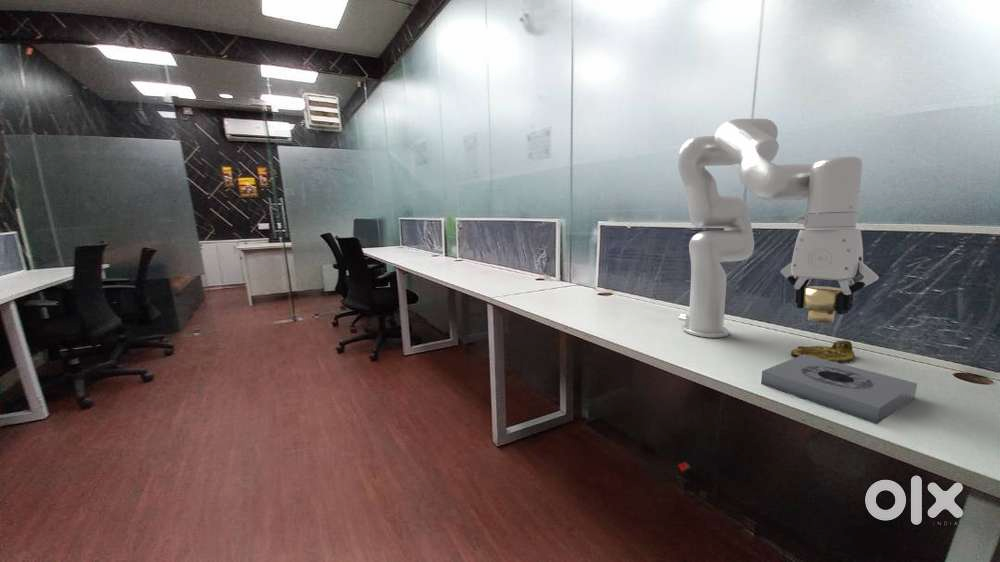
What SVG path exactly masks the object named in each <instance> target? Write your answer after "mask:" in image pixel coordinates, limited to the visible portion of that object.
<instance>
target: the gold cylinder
mask: <svg viewBox="0 0 1000 562" xmlns="http://www.w3.org/2000/svg"><path fill="white" fill-rule="evenodd" d="M840 294H842V289H841V287H833V286H821V285H819V286H817V285H813V286H812V285H809V286H808V285H807V287H804V298H803V307H804V308H806V309H808V311H807V312H808V313H807V314H808V315H807V321H810V322H814V323H818V324H820V323H821V324H832V323H834V321H835V312H837V306H838V297H839V295H840Z"/></svg>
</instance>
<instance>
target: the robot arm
mask: <svg viewBox="0 0 1000 562" xmlns="http://www.w3.org/2000/svg"><path fill="white" fill-rule="evenodd" d="M778 133H779V132H778V126H777V124H776V123H775V122H774V121H773V120H770V119H768V118H736V119H735V118H734V119H731V120H728V121H726V122H724V123H723V124H721V125H720V126H719V127H718V129H717V130H716V131H715V134H714V135H710V136H709V135H708V136H698V137H693V138H690V139H688V140H687V141H685V142H684V143H683V144H682V146H681V147H680V150H679V152H678V157H677V167H678V172H679V175H680V178H681V181H682V183H683V186H684V188H685V196H686V202H687V207H688V208H687V209H688V214H689V215H688V216H689V220H690V223H691V225H692V226H694V227H695V228H698V229H699V228H700V229H718V228H719V230H705V231H701V232H698V233H696V234H694V235H693V236H692V237H691V239H690V240H689V244H688V251H689V252H688V253H689V257H690V259H689V260H690V290H689V291H690V293H689V307H688V314H687V313H680V315H679V316H678V320H679V321H682V322H685V323H684V325H682V331H684V332H685V333H687V334H689V335H692V336H696V337H700V338H701V337H702V338H718V339H719V338H724V337H727V336H728V335H730V330H729V329H728V328H727V327H724V325H725V324H724V323H725V321H724V320H725V308H726V307H725V305H726V294H727V292H726V291H727V274H726V271H725V269H724V268H723V266H722V264H721V263H725V262H729V263H730V262H741V261H745V260H747V259H749V258H750V257H751V256H752V255H753V253H754V249H755V238H754V231H753V227H752V222H751V216H750V211H749V208H748V207H749V206H748V205H747V203H746V202H745V201H744V199H742V198H741V197H738V196H731V195H728V196H727V195H726V196H725V195H724V196H722V195H720V194H719V191H718V185H717V181H716V179H715V178H714V176H713V175H712V173H710V171H708V170H707V169H706V167H710V166H712V167H714V166H732V165H737V164H738V165H739V168H738V174H739V179H740V183H741V184H742V186H743V187H745V188H746V189H747V190H748V191H749V192H750V193H752V194H753V195H754V196H755V197H756V198H757V197H758V198H759V199H762V200H765V201H771V202H772V201H775V202H777V201H805V200H806V201H807V202H806V213H805V215H804V216H803V217H798V219H797V224H798V225H803V228H804V229H800V230H799V232H798V234H797V236H796V241H795V244H794V248H793V253H792V257H791V261H790V263H788V264H786V265H785V266H784V267H782V269H780V273H781V275H782V276H783V277H785V278H786V279H787V281H788V282H789V283H790V284H791V285H792V286H793V289H795V291H796V292H795V303H796V308H797V309H804V308H805V307H803V298H804V287H807V286H808V285H809V284H810V282H811V281H812V279H813V280H814V279H815V280H827V281H837V282H838V284H839V288H841V289H842V294H840V295H839V297H838V306H837V311H836V314H838V315H845V314H849V311H852V309H853V302H854V294H856V293H858V292H859V291H860V290H862V289H864V288H866V287H868V286H869V285H871V284H872V283H874V282H877V281H878V280H879V278H880V276H879V275H878V274H877V273H875V272H874V271H873V270H872V269H871V268H870V267H868V266H867V265H866V264H865V263H864V247H863V237H862V232H861V231H862V230H861V229H860V228H857V220H858V210H859V202H860V201H859V200H860V189H861V181H862V173H863V160H862V159H861V158H860V157H858V156H839V157H830V158H825V159H820V160H818V161H816V162H814V163H811V164H810V163H807V164H806V163H805V164H804V163H803V164H801V163H800V164H796V163H795V164H775V163H773V162H772V161H773V160H774V159H775V158H776V156H777V155H778V152H779V146H780V145H779V142H778V140H777V139H778V135H779V134H778ZM720 228H722V229H723V230H721V229H720ZM861 276H863V278H862V279H861V280H859V281H856V282H855V281H854V279H857V278H860V277H861Z"/></svg>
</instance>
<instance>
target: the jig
mask: <svg viewBox="0 0 1000 562" xmlns="http://www.w3.org/2000/svg"><path fill="white" fill-rule="evenodd" d="M760 384H761V385H762V386H765V385H766V386H765V387H769V388H772V389H774V390H778V391H781V392H783V393H786V394H788V393H789V395H791V394H792V396H794V395H795V397H798V398H800V399H804V400H806V401H809V402H811V401H812V403H814V402H815V403H814V404H817V405H821V406H823V407H826V408H829V409H832V410H834V411H838V412H841V413H843V414H846V415H849V416H852V417H854V418H858V419H860V420H863V421H866V422H869V423H873V424H875V425H879V424H880V423H881V422H882V421H884V420H885V419H887V418H888V417H889V416H891V415H892V414H894V413H895V412H896V411H898V410H900V409H901V408H902V407H904V406H906V405H907V404H908V403H909V402H911V401H912V400H914V399H915V398H916V392H917V386H918V383H917V382H914V381H911V380H906V379H902V378H898V377H894V376H891V375H886V374H882V373H879V372H875V371H871V370H866V369H863V368H859V367H855V366H852V365H851V366H850V365H847V364H845V363H836V362H832V361H829V360H825V359H821V358H817V357H813V356H809V355H805V354H803V355H801V356H798V357H793V358H791V359H789V360H787V361H784V362H782V363H779V364H776V365H774V366H771V367H769V368H766V369H763V370H762V371H761V382H760Z"/></svg>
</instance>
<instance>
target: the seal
mask: <svg viewBox="0 0 1000 562" xmlns="http://www.w3.org/2000/svg"><path fill="white" fill-rule="evenodd" d="M803 354H805V355H809V356H813V357H817V358H821V359H825V360H829V361H832V362H836V363H840V364H844V363H843V362H847V363H851V362H850V361H852V362H854V361H855V360H854V359H855V358H856V357H855V356H856V355H855V352H854V351H853V344H852V342H851V341H850V340H844V339H843V340H835V341H834V343H833V344H832V345H831V346H825V345H824V346H823V345H816V346H815V345H814V346H804V345H803V346H802V345H801V346H797V347H796V348H794V349H793V350H792V351H790V355H791V357H793V358H796V357H798V356H801V355H803ZM853 360H854V361H853Z"/></svg>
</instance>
